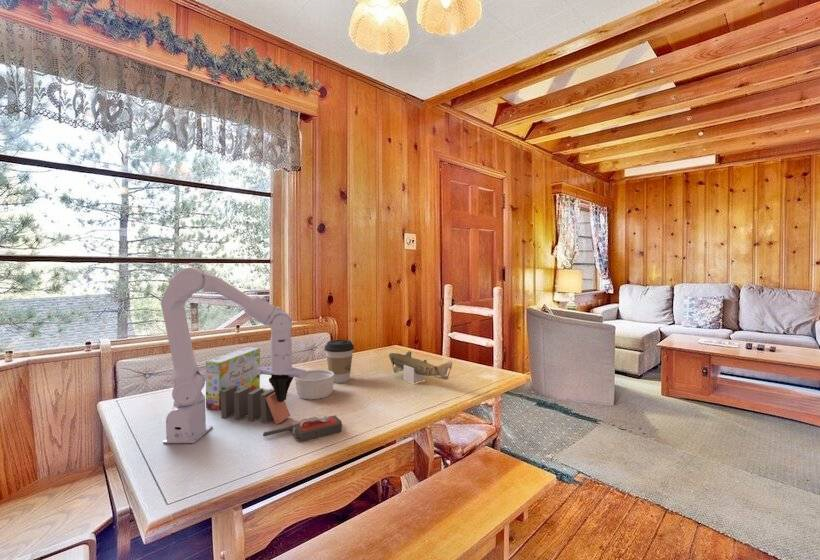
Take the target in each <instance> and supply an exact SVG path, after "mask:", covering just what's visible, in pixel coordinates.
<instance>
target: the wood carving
mask: <svg viewBox="0 0 820 560" xmlns="http://www.w3.org/2000/svg"><path fill="white" fill-rule="evenodd" d="M388 357H389V359H390V360H389V361H390V364H391V366H392V370H393V373H394V374H395V373H399V372H402V371H403V381H404V380H406V381H409V382H412V383H416V382H419V381H423V380H426V381H427V379H426V377H434V378H437V379H441V380H445V381H447V380H448V379H449V377H450V373H451V370H452V367H453V362H452V361H448V362H445V363H442V364H440V365H434V364H431V363H428V361H427V360H426V359H424V360H420V359H418V358H414V357H412V351H407V352H406V354H401V353H394V352H391V353H389V354H388ZM406 381H405V382H406ZM409 382H408V383H409ZM412 383H411V384H412Z"/></svg>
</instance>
